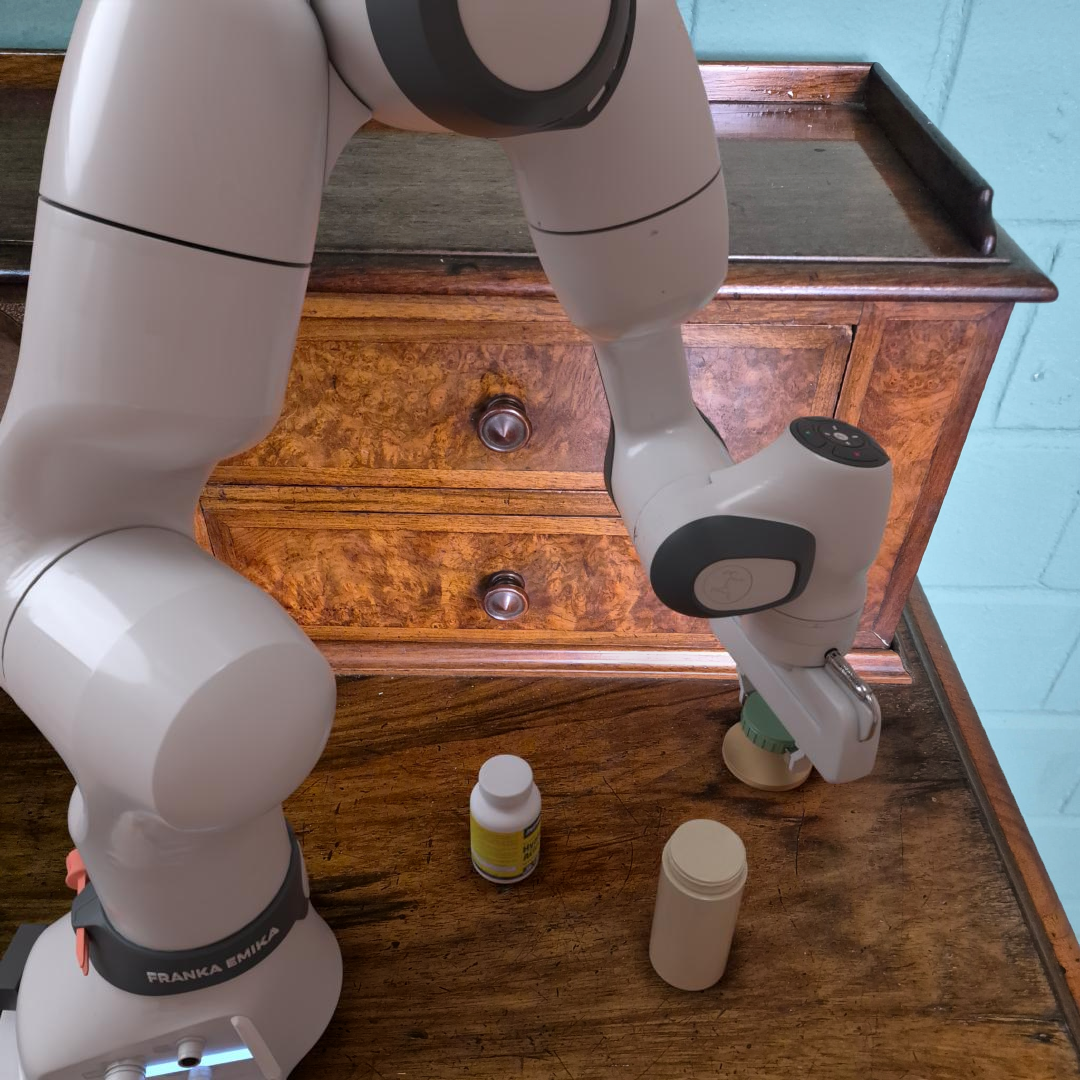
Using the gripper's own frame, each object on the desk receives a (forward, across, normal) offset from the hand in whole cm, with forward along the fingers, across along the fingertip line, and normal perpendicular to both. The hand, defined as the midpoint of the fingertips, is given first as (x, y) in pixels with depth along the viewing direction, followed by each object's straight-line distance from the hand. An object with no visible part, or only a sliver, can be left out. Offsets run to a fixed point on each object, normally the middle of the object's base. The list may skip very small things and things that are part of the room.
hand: (772, 734), depth 82 cm
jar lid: (-2, 0, 0) cm, 2 cm away
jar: (+3, -14, +15) cm, 21 cm away
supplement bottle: (+3, -2, +25) cm, 25 cm away
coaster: (+3, 0, 0) cm, 3 cm away
